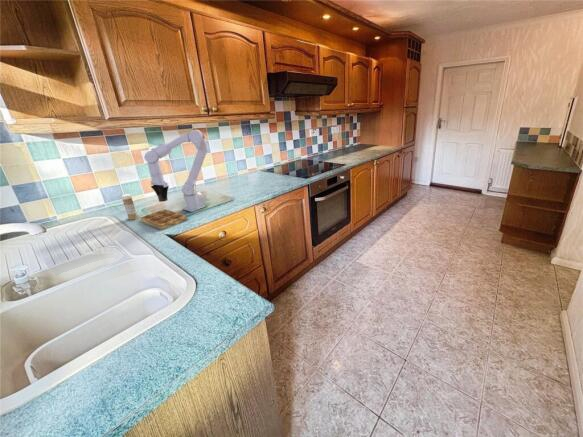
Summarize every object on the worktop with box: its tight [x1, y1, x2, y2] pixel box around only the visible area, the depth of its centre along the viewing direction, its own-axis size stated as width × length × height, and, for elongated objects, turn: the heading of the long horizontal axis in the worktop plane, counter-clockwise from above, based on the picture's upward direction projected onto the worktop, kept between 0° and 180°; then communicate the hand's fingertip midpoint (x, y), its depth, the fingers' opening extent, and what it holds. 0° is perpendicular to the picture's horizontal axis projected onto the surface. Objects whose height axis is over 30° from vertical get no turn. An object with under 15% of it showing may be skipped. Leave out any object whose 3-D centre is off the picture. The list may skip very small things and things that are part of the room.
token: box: [156, 194, 169, 203], centre depth 143 cm, size 4×4×4 cm
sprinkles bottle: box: [120, 193, 139, 221], centre depth 137 cm, size 5×5×14 cm
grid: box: [140, 208, 188, 231], centre depth 134 cm, size 14×20×2 cm
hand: (162, 198), depth 143 cm, fingers closed on token, 4 cm apart
